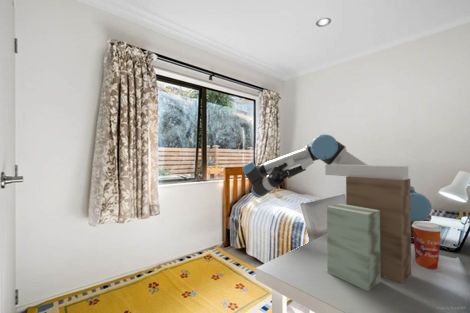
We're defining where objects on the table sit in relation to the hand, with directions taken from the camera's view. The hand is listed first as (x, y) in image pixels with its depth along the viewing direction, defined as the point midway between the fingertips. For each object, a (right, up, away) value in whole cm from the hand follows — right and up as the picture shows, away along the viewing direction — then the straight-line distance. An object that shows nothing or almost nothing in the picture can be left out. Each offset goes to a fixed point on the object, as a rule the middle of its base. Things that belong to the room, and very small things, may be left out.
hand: (303, 160), depth 95 cm
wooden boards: (+12, -35, -28) cm, 46 cm away
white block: (+14, -5, -20) cm, 25 cm away
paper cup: (+35, -36, -22) cm, 55 cm away
